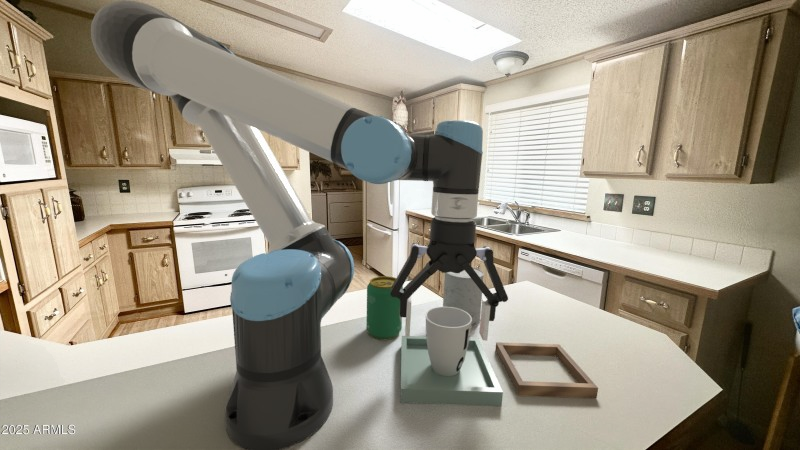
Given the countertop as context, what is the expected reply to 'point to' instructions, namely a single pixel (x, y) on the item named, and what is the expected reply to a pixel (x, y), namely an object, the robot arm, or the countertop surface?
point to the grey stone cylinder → (463, 294)
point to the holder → (545, 389)
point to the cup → (447, 338)
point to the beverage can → (383, 309)
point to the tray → (447, 377)
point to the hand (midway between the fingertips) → (445, 335)
